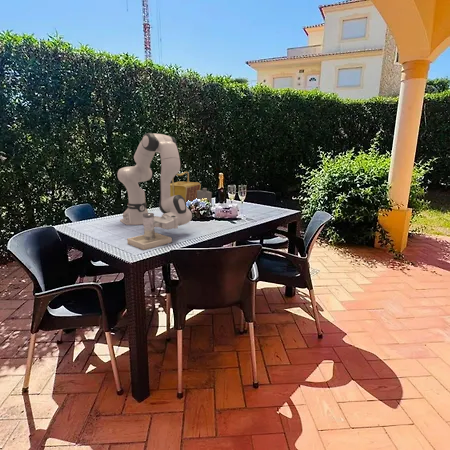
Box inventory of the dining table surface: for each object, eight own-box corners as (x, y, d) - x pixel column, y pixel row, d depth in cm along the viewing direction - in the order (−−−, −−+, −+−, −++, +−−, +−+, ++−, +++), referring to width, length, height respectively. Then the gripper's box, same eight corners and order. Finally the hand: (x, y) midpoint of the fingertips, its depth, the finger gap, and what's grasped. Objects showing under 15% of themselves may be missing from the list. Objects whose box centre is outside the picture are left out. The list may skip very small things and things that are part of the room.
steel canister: (142, 238, 170) (140, 214, 167) (151, 236, 175) (149, 212, 171) (148, 241, 167) (146, 215, 163) (157, 238, 171) (155, 214, 167)
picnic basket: (177, 202, 294) (176, 170, 287) (201, 204, 285) (201, 171, 278) (160, 208, 268) (158, 173, 260) (186, 210, 259) (185, 174, 251)
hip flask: (196, 211, 254) (196, 187, 249) (200, 211, 257) (199, 187, 252) (209, 214, 243) (209, 189, 238) (213, 214, 246) (213, 188, 241)
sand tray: (127, 243, 170) (127, 238, 169) (154, 237, 183) (154, 232, 182) (144, 250, 160) (143, 244, 159) (171, 242, 172) (171, 237, 172)
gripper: (157, 212, 184) (136, 216, 174) (179, 217, 171) (158, 222, 161) (157, 222, 185) (137, 227, 176) (179, 228, 172) (158, 233, 162)
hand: (147, 224), depth 168 cm, fingers closed on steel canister, 6 cm apart
